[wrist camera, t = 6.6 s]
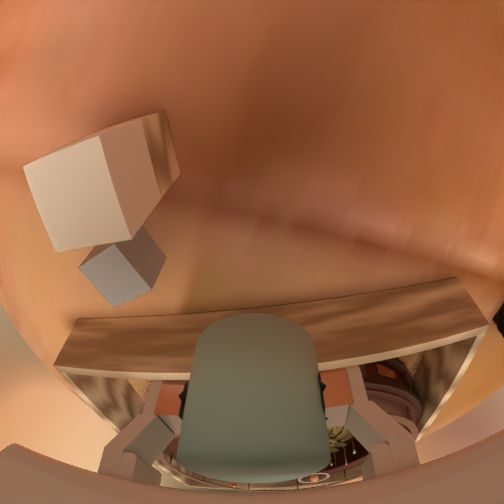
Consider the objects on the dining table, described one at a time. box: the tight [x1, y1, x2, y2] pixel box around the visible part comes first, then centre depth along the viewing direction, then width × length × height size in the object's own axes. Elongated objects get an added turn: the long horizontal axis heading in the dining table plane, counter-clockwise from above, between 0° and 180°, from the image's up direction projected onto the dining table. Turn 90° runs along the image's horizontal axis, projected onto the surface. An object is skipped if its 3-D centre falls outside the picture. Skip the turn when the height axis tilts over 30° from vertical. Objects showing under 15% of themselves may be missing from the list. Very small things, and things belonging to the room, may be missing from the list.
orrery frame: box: [53, 277, 489, 490], centre depth 40 cm, size 48×46×8 cm
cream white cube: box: [23, 119, 161, 253], centre depth 16 cm, size 6×6×6 cm
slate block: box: [79, 226, 166, 308], centre depth 26 cm, size 5×5×5 cm
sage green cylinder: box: [176, 313, 331, 483], centre depth 10 cm, size 5×5×5 cm
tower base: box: [75, 110, 181, 198], centre depth 20 cm, size 6×6×6 cm
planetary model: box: [158, 358, 422, 492], centre depth 40 cm, size 43×45×12 cm
